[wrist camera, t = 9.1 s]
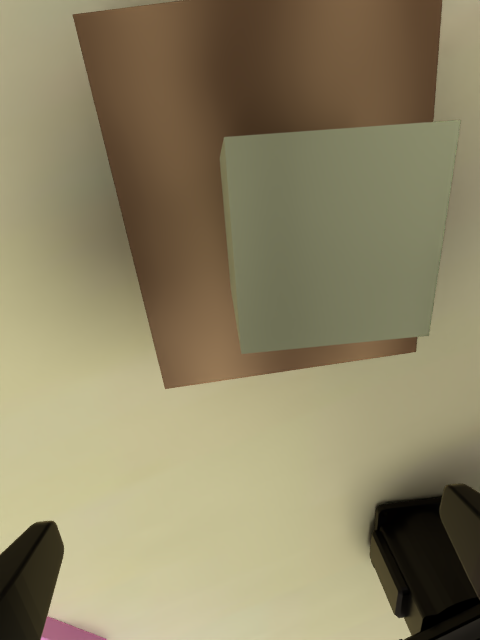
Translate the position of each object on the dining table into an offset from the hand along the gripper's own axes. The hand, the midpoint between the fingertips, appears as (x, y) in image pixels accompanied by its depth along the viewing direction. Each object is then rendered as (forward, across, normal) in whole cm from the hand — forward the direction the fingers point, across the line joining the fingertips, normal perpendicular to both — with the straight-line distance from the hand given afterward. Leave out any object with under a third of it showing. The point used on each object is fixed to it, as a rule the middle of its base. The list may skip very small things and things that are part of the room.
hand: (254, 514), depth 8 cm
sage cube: (+8, -2, -6) cm, 10 cm away
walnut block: (+12, -2, -6) cm, 14 cm away
